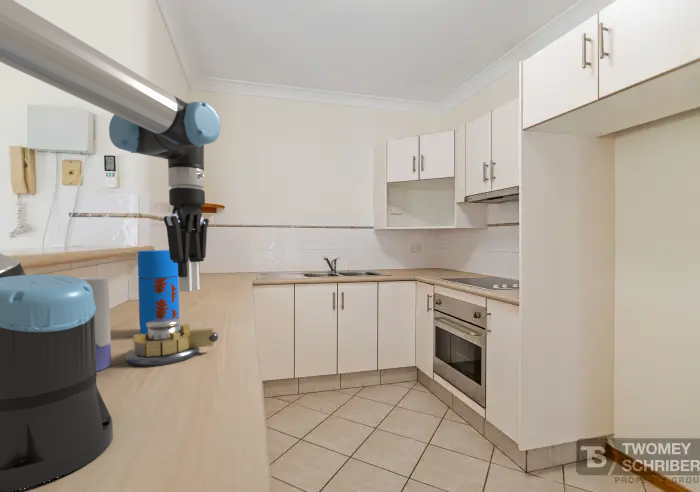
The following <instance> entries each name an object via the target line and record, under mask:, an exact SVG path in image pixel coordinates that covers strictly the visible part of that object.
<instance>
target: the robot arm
mask: <svg viewBox="0 0 700 492" xmlns="http://www.w3.org/2000/svg"><path fill="white" fill-rule="evenodd" d="M0 63H2V64H4V65H6V66H9V67H10V68H13V69H15V70H17V71H20V72H21V73H24V74H25V75H27V76H30V77H32V78H35V79H37V80H38V81H40V82H43V83H45V84H48V85H49V86H52V87H54V88H56V89H59V90H61V91H63V92H64V93H67V94H69V95H71V96H74V97H76V98H78V99H81V100H82V101H85V102H87V103H89V104H91V105H94V106H95V107H97V108H100V109H102V110H104V111H107V112H108V113H111V114H112V115H113V116H112V117H111V119H110V122H109V127H108V132H109V133H108V135H109V138H110V142H111V143H112V145H113V146H115V148H118V149H119V150H123V151H127V152H129V153H131V154H140V155H145V156H149V157H154V158H160V159H165V160H167V165H168V186H169V187H170V189H169V190H168V199H169V200H168V203H169V205H170V206H173V207H172V212H171V213H172V214H170V215H165V216H163V222H164V224H165V228H166V234H167V243H168V250H169V253H170V259H171V260H173V262H174V263H178V275H177V276H178V287H179V292H186V293H187V292H192V291H199V290H200V289H201V288H200V262H204V261H205V258H206V253H207V235H208V234H207V233H208V226H209V223H210V220H209V219H208V218H204V217H203V213H202V210H201V208H202V207H204V206H205V204H206V195H205V194H206V193H205V192H206V191H205V190H204V188H205V147H204V146H205V145H208V144H212V143H214V142H216V140H218V138H219V136H220V134H221V127H222V126H221V119H220V118H219V115H218V113H217V112H216V111H217V110H215V109H214V108H213V106H211V105H210V104H209V103H207V102H203V101H190V102H186V101H184V100H182V99H181V98H179V97H177V96H175V95H174V94H172V93H170V92H168V91H166V90H165V89H163V88H162V87H159V86H158V85H156V84H155V83H153V82H151V81H150V80H148V79H147V78H145V77H144V76H143V75H142V76H141V75H140V74H138V73H137V72H134V71H133V70H131V69H130V68H128V67H126V66H125V65H123V64H121V63H119V62H118V61H117V60H114V59H113V58H112V57H109V56H107V55H106V54H105V53H103V52H101V51H99V50H98V49H97V48H95V47H93V46H92V45H90V44H88V43H86V42H84V41H83V40H81V39H80V38H78V37H76V36H74V35H72V34H71V33H70V32H68V31H66V30H65V29H62V28H61V27H59V26H58V25H56V24H54V23H52V21H49V20H47V19H46V18H44V17H42V16H41V15H39V14H38V13H36V12H34V11H33V10H32V9H29V8H27V7H26V6H24V5H22V4H21V3H19V2H17V1H16V0H0ZM95 311H96V305H95V302H94V296H93V290H92V287H91V285H90V284H89V283H88V282H86V281H85V280H83V279H80V277H76V276H69V275H60V274H59V275H53V274H26V272H25V269H24V268H23V266H22V265H21V262H20V260H19V259H17V258H15V257H11V256H7V255H4V254H3V253H1V252H0V492H14V491H15V492H18V491H17V490H19V491H23V490H25V489H24V488H27V489H29V488H28V487H31V488H34V487H36V486H35V485H38V484H41V483H44V482H47V481H49V480H52V479H54V478H57V477H60V476H62V475H64V476H66V475H68V473H69V474H71V473H73V472H75V471H77V470H78V469H81V468H82V467H84V466H86V465H87V464H89V463H91V462H92V461H93V460H95V459H97V457H99V456H100V455H101V454H103V453H104V452H105V451H106V450H107V449H108V448H109V446H110V445H111V443H112V442H113V438H114V428H113V427H114V426H113V425H114V422H113V419H112V416H111V414H110V412H109V410H108V407H107V406H106V403H105V401H104V399H103V397H102V395H101V393H100V390H99V388H98V385H97V384H98V383H97V372H96V347H95ZM76 469H77V470H76ZM74 470H75V471H74ZM72 471H73V472H72ZM70 472H71V473H70ZM65 474H66V475H65ZM62 477H63V476H62ZM60 478H61V477H60ZM57 479H58V478H57ZM52 481H53V480H52ZM49 482H50V481H49ZM47 483H48V482H47ZM44 484H45V483H44ZM41 485H42V484H41ZM33 486H34V487H33ZM38 486H39V485H38ZM20 489H21V490H20ZM22 489H23V490H22Z"/></svg>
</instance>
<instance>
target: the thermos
mask: <svg viewBox="0 0 700 492" xmlns="http://www.w3.org/2000/svg"><path fill="white" fill-rule="evenodd" d="M137 280H138V283H137V284H138V315H139V317H138V318H139V321H138V322H139V332H140V333H139V334H141V333H143V334H145V333H148V328H147V327H146V323H147V322H149V321H152V320H157V319H164V318H177V319H179V320H180V296H179V294H180V293H179V292H180V291H179V276H178V263H174V262H173V260H171V259H170V253H169V249H167V250H166V249H161V250H160V249H158V250H138V252H137ZM178 329H180V323H179V324H178Z"/></svg>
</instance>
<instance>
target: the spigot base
mask: <svg viewBox="0 0 700 492" xmlns="http://www.w3.org/2000/svg"><path fill="white" fill-rule="evenodd" d="M178 324H179V325H180V318H179V319H177V318H164V319H157V320H152V321H149V322H147V323H146V327H147V328H148V331H149V341H163V340H169V339H170V333H172V332H178ZM198 354H200V347H190V348H189V349H186V350H184V351H181V352H177V353H174V354H168V355H161V356H150V357H147V356H145V357H144V356H137V355H135V354H134V353H133V348H131V349H129V350H128V351H126V353H125V364H127V365H129V366H133V367H138V368H139V367H142V368H143V367H144V368H145V367H147V368H149V367H150V368H151V367H152V368H153V367H161V366H167V365H172V364H177V363H181V362H184V361H186V360H189V359H192V358H193V357H196V356H197V355H198Z"/></svg>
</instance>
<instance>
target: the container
mask: <svg viewBox="0 0 700 492" xmlns="http://www.w3.org/2000/svg"><path fill="white" fill-rule="evenodd" d="M79 278H80V279H83V280H85V281H86V282H88V283H89V284H90V285H91V287H92V290H93V296H94V302H95V305H96V311H95V347H96V373H97V372H100V371H103V370H105V369H107V368H109V367H110V366H111V365H112V346H111V345H112V344H111V341H112V340H111V339H112V338H111V313H110V307H111V306H110V281H109V280H110V279H109V277H107V276H83V277H82V276H81V277H79Z"/></svg>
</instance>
